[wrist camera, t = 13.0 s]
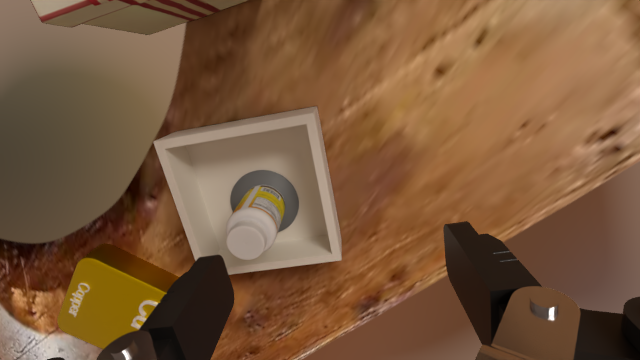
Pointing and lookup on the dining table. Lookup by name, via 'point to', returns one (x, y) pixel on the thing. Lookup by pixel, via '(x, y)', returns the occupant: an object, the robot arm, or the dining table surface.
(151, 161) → the dining table surface
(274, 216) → the supplement bottle
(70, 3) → the gift box
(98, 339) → the element tile
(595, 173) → the dining table surface
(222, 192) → the box
